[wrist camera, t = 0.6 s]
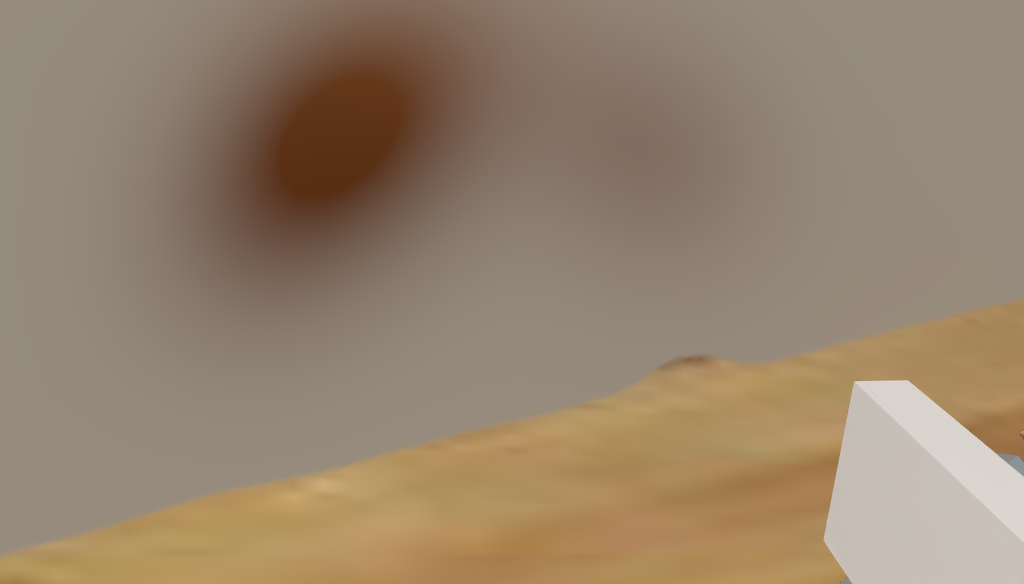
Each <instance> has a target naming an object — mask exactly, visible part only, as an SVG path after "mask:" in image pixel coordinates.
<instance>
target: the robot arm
mask: <svg viewBox="0 0 1024 584" xmlns="http://www.w3.org/2000/svg"><path fill="white" fill-rule="evenodd" d="M824 542H825V543H826V545H827V546H828V548H829V549H830V551H831V552H832V554H833V555H834V557H835V558H836V560H837V561H838V563H839V564H840V566H841V567H842V569H843V570H844V572H845V573H846V575H847V576H848V578H849V579H850V581H851V582H852V584H1024V477H1023V476H1022V475H1021V474H1020V473H1019V472H1017V471H1016V470H1015V469H1014V468H1013V467H1011V466H1010V465H1009V464H1008V463H1007V462H1005V461H1004V460H1003V459H1002V458H1001V457H999V456H998V455H997V454H996V453H995V452H993V451H992V450H991V449H990V448H988V447H987V446H986V445H985V444H984V443H982V442H981V441H980V440H979V439H978V438H976V437H975V436H974V435H973V434H972V433H970V432H969V431H968V430H967V429H966V428H964V427H963V426H962V425H961V424H960V423H958V422H957V421H956V420H955V419H954V418H952V417H951V416H950V415H949V414H948V413H946V412H945V411H944V410H943V409H941V408H940V407H939V406H938V405H937V404H935V403H934V402H933V401H932V400H931V399H929V398H928V397H927V396H926V395H925V394H923V393H922V392H921V391H920V390H919V389H917V388H916V387H915V386H914V385H913V384H911V383H910V382H909V381H908V380H905V381H854V386H853V391H852V396H851V401H850V406H849V411H848V417H847V422H846V427H845V432H844V437H843V442H842V448H841V453H840V458H839V463H838V468H837V473H836V479H835V484H834V489H833V494H832V499H831V504H830V509H829V515H828V520H827V525H826V530H825V535H824Z"/></svg>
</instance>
